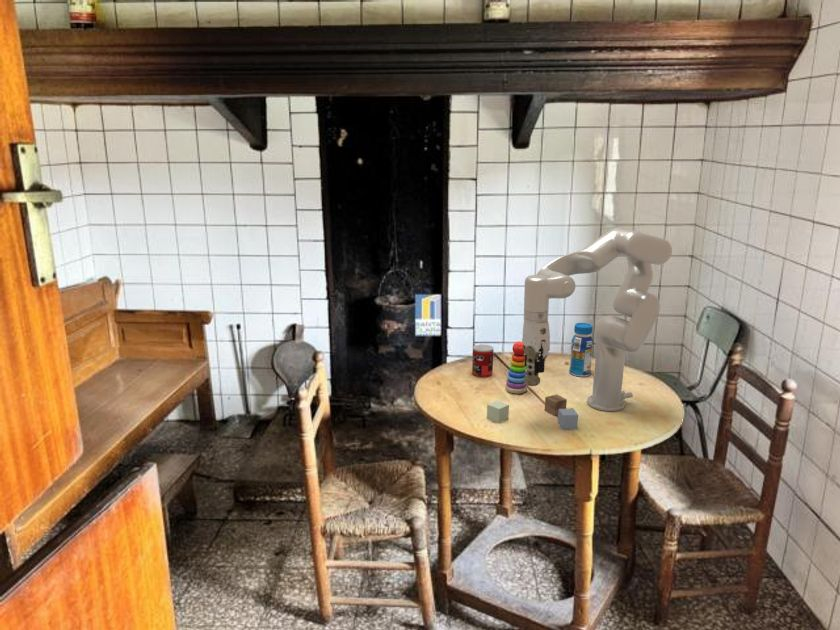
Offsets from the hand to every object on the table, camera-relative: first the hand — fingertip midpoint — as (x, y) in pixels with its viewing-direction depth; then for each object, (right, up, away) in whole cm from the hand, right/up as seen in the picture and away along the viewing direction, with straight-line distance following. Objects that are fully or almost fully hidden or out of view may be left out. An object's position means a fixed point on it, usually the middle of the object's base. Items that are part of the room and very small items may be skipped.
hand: (534, 368), depth 204 cm
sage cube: (-11, -17, +6) cm, 21 cm away
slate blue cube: (+11, -19, +1) cm, 22 cm away
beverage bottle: (+26, -6, +47) cm, 54 cm away
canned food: (-12, -6, +46) cm, 48 cm away
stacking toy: (-1, -11, +30) cm, 32 cm away
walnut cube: (+9, -16, +12) cm, 22 cm away
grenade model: (0, -5, +1) cm, 5 cm away
